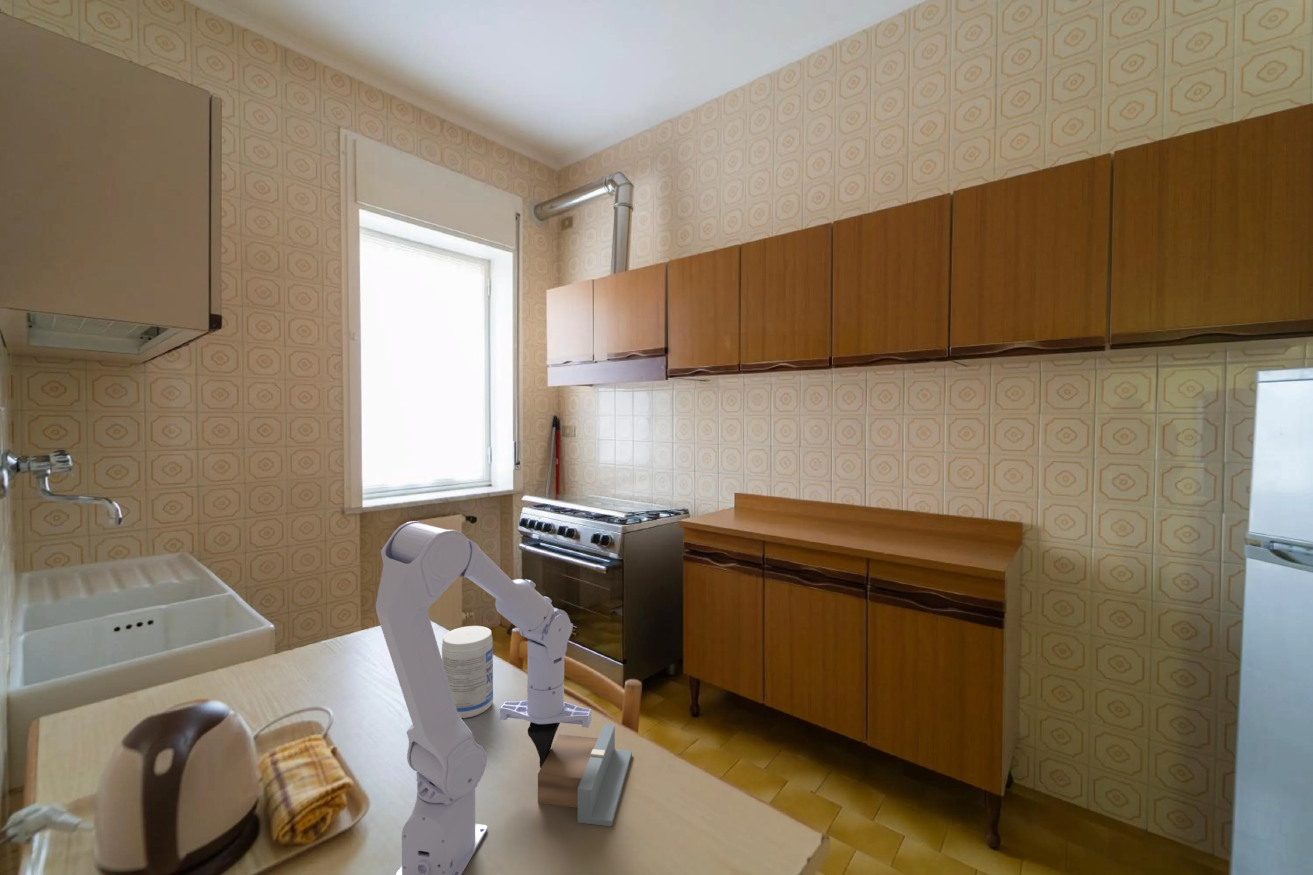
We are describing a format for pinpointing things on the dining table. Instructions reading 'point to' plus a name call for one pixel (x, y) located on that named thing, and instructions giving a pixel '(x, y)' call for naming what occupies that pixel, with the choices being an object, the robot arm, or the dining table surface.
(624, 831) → the dining table surface
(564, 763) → the walnut block
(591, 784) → the board
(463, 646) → the supplement tub
